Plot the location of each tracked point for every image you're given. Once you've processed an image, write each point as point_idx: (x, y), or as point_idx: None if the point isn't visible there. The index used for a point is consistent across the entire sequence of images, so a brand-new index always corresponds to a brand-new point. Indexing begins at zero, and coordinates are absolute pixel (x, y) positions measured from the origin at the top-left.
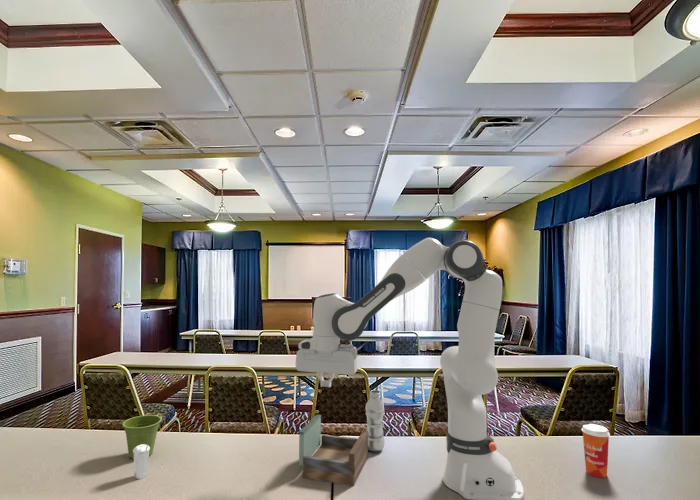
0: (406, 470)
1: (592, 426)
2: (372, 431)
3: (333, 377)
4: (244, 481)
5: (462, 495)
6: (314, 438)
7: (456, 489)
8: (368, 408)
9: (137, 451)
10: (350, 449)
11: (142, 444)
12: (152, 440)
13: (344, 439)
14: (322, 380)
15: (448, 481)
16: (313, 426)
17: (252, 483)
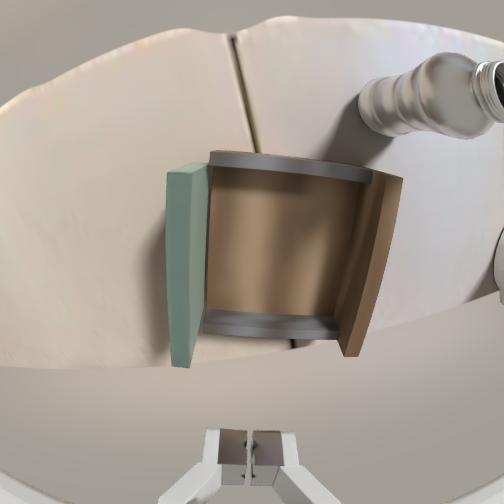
0: (449, 221)
1: None
2: (406, 129)
3: (324, 490)
4: (100, 331)
5: (500, 298)
6: (199, 239)
7: (500, 289)
8: (441, 124)
9: None
10: (322, 181)
11: None
12: None
13: (304, 173)
14: (218, 485)
15: (500, 277)
16: (190, 270)
17: (118, 336)
